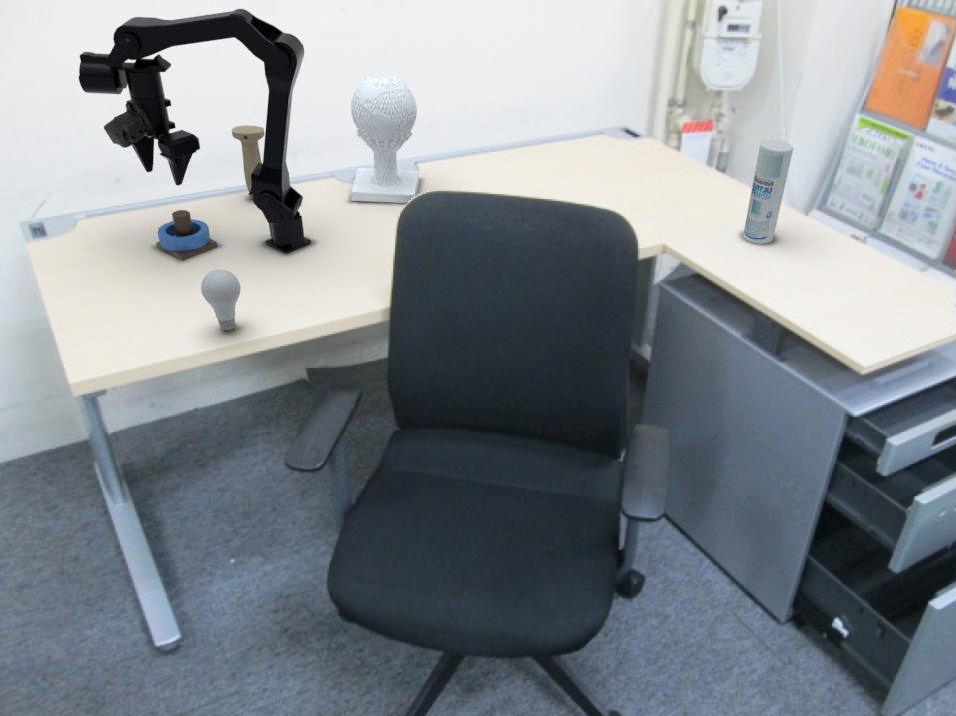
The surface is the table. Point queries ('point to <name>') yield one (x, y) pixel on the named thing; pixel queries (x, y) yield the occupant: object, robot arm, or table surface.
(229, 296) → the lightbulb
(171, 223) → the tape
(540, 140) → the table surface
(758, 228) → the spray can
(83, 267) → the table surface
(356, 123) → the trophy
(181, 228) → the peg stand
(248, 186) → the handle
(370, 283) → the table surface
